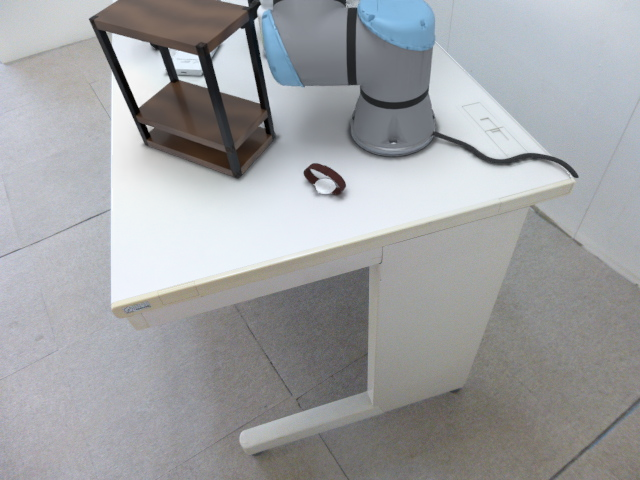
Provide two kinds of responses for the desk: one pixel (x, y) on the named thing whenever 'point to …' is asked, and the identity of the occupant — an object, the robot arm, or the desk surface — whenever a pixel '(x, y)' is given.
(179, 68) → the hard drive
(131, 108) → the rack
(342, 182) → the watch
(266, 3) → the supplement bottle
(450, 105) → the desk surface
